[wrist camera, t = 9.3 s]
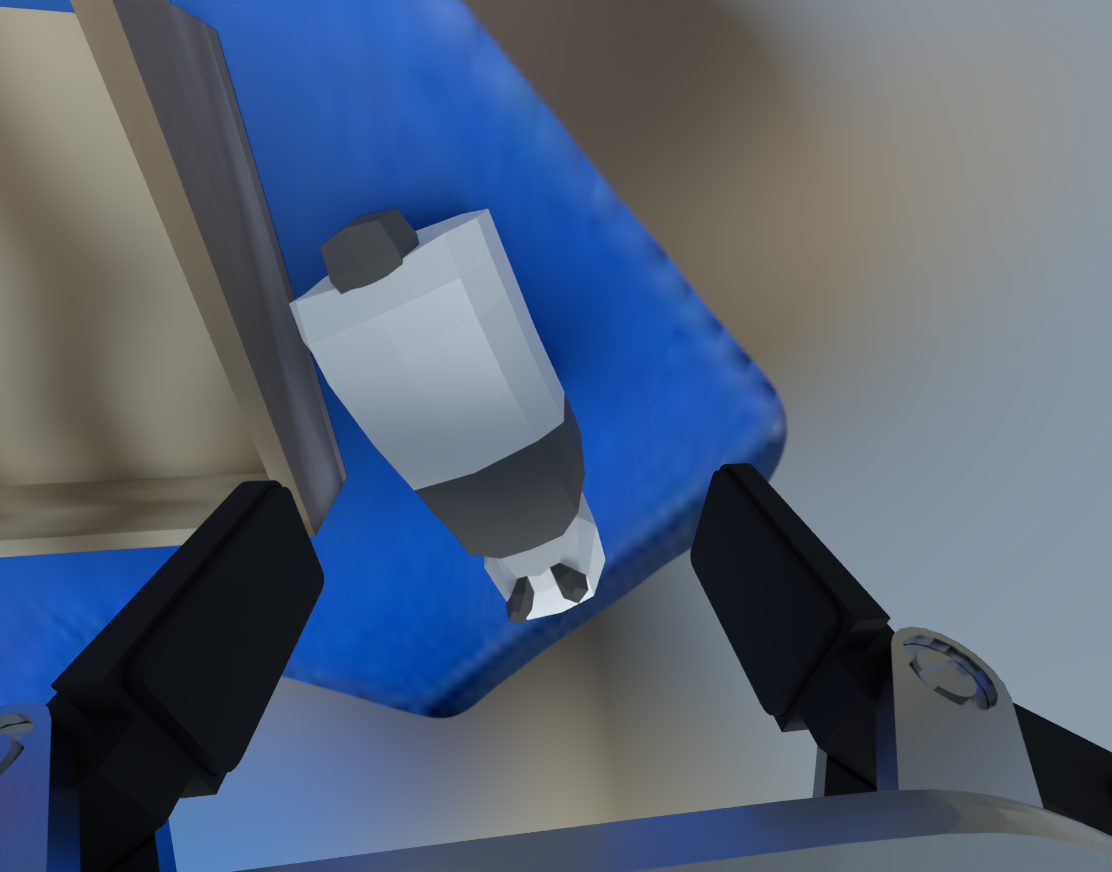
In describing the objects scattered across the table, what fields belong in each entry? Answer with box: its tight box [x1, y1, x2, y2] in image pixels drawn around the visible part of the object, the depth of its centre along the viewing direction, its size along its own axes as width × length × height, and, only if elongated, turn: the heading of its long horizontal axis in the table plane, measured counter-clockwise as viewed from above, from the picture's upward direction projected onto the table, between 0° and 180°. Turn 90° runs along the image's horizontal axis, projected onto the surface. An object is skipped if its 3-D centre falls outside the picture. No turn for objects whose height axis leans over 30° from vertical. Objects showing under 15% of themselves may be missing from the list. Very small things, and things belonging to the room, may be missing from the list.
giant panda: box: [289, 208, 605, 624], centre depth 14 cm, size 15×6×10 cm, turn 21°
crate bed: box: [0, 0, 347, 557], centre depth 13 cm, size 16×16×4 cm
